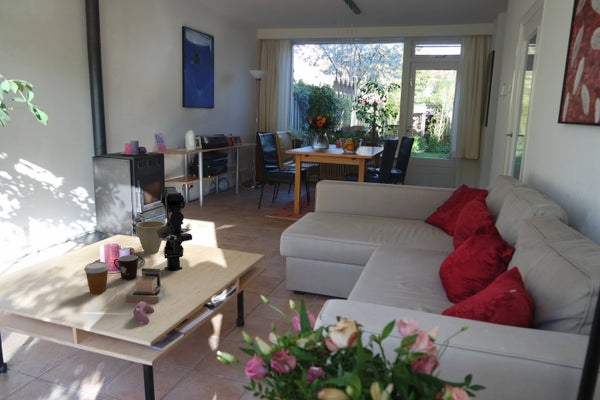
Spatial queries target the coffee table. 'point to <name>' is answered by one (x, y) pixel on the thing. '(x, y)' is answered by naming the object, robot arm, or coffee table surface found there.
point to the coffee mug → (128, 266)
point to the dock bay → (145, 297)
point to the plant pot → (150, 235)
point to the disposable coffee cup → (97, 277)
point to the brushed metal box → (148, 282)
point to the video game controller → (142, 311)
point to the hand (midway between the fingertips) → (175, 252)
